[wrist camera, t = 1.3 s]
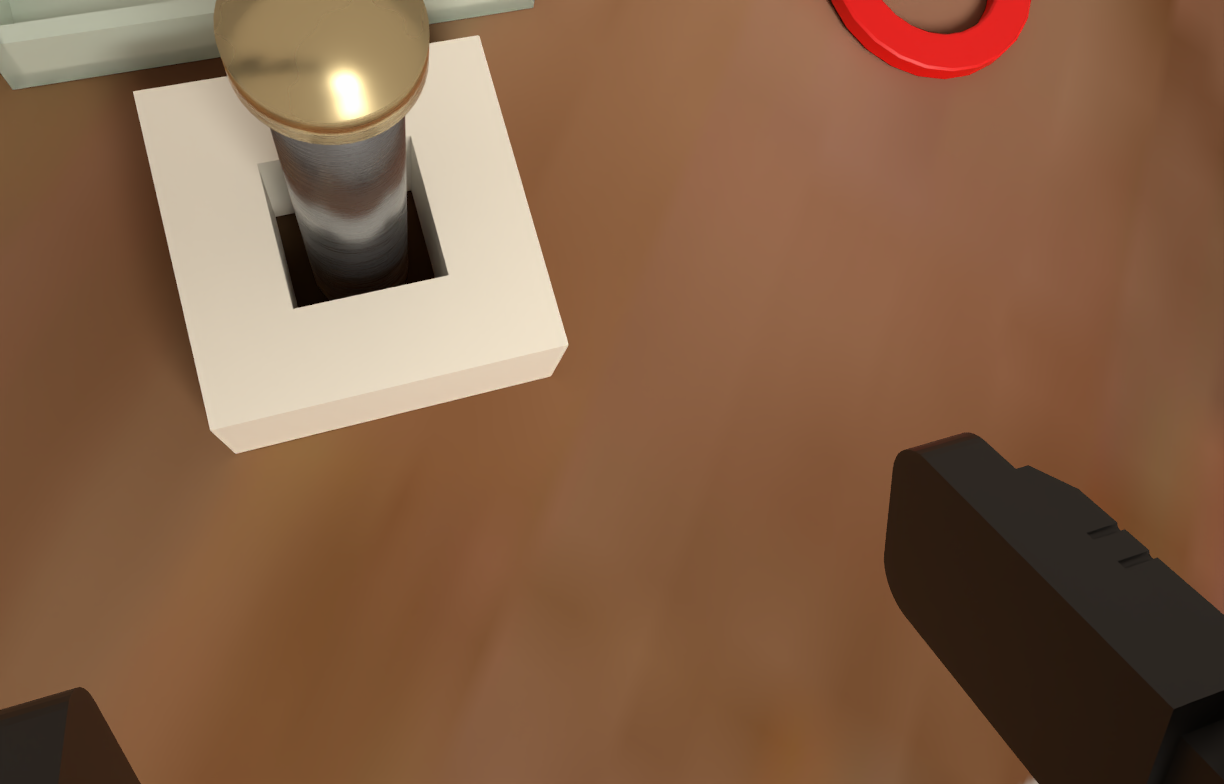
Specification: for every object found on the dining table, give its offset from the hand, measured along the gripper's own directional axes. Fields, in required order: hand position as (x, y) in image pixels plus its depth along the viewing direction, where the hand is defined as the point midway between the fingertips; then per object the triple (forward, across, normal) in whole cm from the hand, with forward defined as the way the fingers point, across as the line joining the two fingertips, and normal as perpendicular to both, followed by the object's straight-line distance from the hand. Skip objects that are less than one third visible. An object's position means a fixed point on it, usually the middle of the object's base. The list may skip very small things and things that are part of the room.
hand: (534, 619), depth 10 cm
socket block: (+24, 0, +7) cm, 25 cm away
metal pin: (+24, 0, +7) cm, 25 cm away
